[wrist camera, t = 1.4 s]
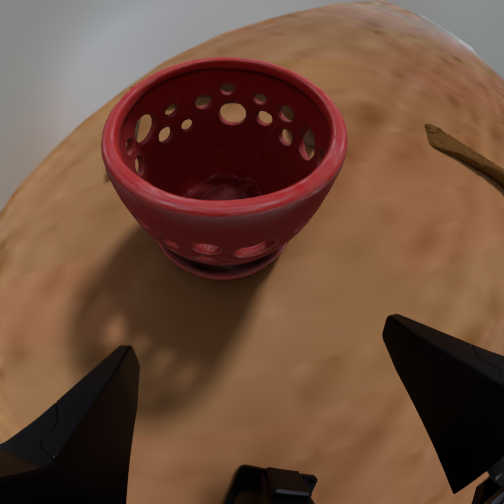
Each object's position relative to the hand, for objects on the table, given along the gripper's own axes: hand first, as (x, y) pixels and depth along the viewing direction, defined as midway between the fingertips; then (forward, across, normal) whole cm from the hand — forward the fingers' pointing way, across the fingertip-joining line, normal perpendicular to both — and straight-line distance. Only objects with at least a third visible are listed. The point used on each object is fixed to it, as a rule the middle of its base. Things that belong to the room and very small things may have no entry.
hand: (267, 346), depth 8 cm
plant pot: (+16, +1, 0) cm, 16 cm away
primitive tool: (+22, -37, -7) cm, 44 cm away
